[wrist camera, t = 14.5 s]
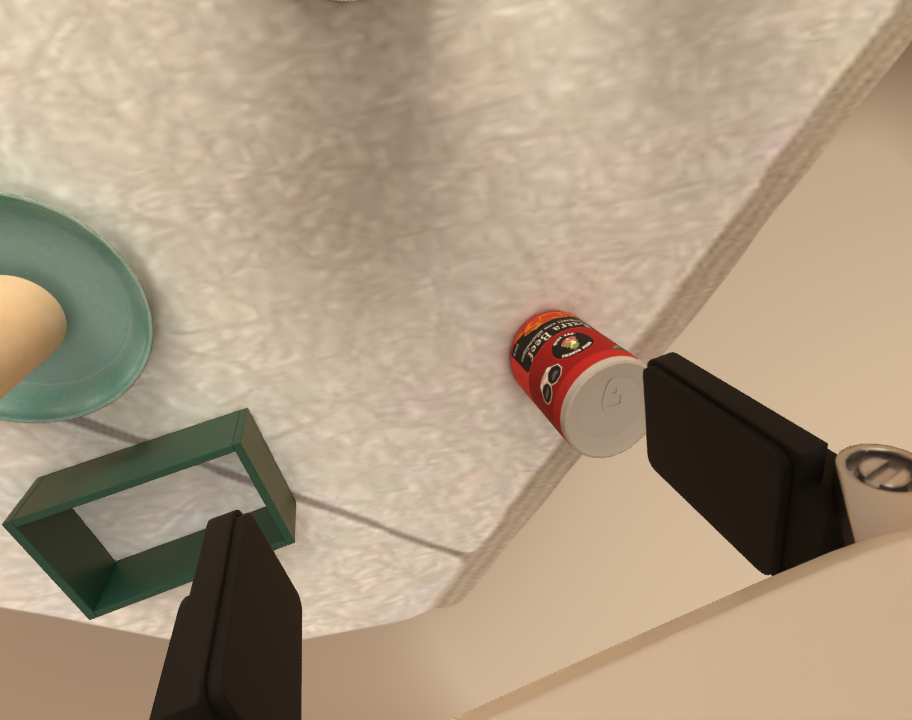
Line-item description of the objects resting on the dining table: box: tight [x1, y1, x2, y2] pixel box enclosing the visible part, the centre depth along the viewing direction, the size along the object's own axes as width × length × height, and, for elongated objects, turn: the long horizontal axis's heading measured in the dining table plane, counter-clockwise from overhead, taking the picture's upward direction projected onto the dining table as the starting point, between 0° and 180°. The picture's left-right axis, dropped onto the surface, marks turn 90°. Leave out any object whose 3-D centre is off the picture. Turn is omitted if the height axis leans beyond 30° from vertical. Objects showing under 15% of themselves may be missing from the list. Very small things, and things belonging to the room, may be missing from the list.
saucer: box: [0, 192, 153, 423], centre depth 31 cm, size 15×15×3 cm
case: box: [2, 408, 296, 620], centre depth 38 cm, size 10×16×5 cm, turn 104°
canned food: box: [510, 311, 647, 458], centre depth 40 cm, size 8×8×11 cm
